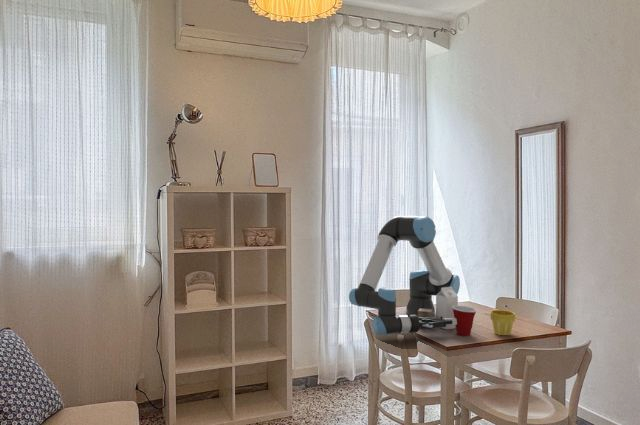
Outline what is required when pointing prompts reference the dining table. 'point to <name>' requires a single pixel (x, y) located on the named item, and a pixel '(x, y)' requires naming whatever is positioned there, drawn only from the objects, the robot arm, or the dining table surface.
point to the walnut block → (425, 313)
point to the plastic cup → (464, 319)
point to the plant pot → (502, 321)
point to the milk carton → (446, 304)
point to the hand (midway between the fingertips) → (457, 321)
